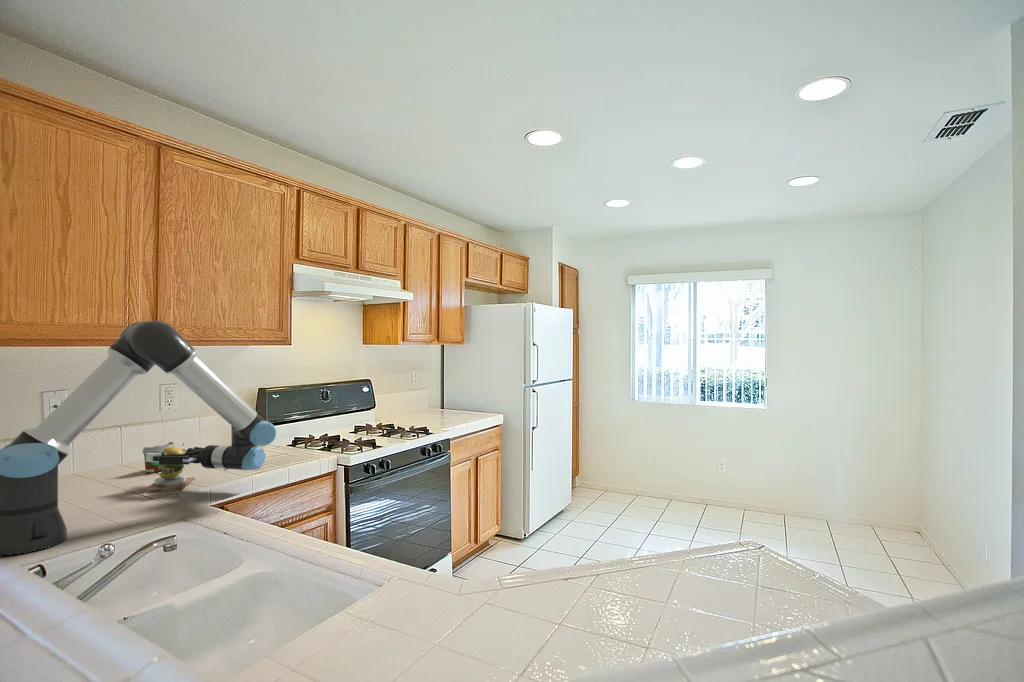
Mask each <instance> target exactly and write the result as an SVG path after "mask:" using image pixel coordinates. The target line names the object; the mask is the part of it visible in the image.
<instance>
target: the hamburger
mask: <svg viewBox="0 0 1024 682" xmlns="http://www.w3.org/2000/svg"><path fill="white" fill-rule="evenodd" d="M183 446H185V442H183V443H182V444H181V446H180V447H178V446H175V447H174V446H169V447H167V448H165V449H164V450H163V452H164V453H165V455H171V454H185V452H184V451H183V450H182V449H181V448H183ZM184 465H185V464H163V465H162V467H163V468H164V470H163V469H162V472H161V473H158V474H159V475H158V476H159V478H164V479H167V478H172V477H175V476H177V475H181V473H182V472H183V469H184V468H185V466H184ZM165 467H166V468H168V469H165Z"/></svg>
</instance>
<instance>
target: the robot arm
mask: <svg viewBox="0 0 1024 682" xmlns="http://www.w3.org/2000/svg"><path fill="white" fill-rule="evenodd" d="M107 352H108V353H107V354H108V356H107V357H106V358H105V360H104V361H102V362H101V363H100V364H99V365H98V366H97V367H96V368H95V369H94V370H93V371H92V372H91V373H90V374H89V375H88V376H87V377H86V378H85V379H84V380H83V381H82V382H81V383H80V384H79V385H77V387H76V388H74V389H73V391H72V392H71V393H70V394H69V395H68V396H67V397H66V398H65V399H64V400H63V401H62V402H60V403H59V404H58V405H57V407H55V408H54V409H53V410H52V411H51V412H50V413H49V415H48V416H46V417H45V418H44V419H43V420H42V421H41V422H40V423H39V424H38V425H37V426H35V427H33V428H32V427H31V428H27V429H23V431H22V432H21V433H20V434H19V435H17V436H16V438H14V439H13V440H12V442H10V443H9V444H6V445H5V446H4V447H2V448H0V555H10V556H13V555H12V554H18V555H21V554H20V553H24V554H28V552H29V553H32V552H31V551H34V550H38V549H41V548H45V547H48V546H51V547H53V546H52V545H54V546H56V545H58V544H57V543H59V542H61V541H62V542H64V541H65V540H66V539H67V537H68V528H67V525H66V522H65V521H64V519H63V516H62V514H61V511H60V509H59V465H60V464H61V463H62V462H63V461H64V460H65V459H66V458H67V456H68V455H69V454H70V452H69V451H70V450H69V446H70V444H71V443H72V442H73V441H74V440H76V439H77V437H78V436H79V435H80V434H81V433H83V432H84V430H85V429H86V428H87V427H88V426H89V425H90V424H91V423H92V422H93V421H94V420H95V419H96V418H97V417H98V416H99V415H100V414H101V413H102V411H104V410H105V408H106V407H107V406H109V404H111V403H112V402H113V400H114V399H115V398H116V397H117V396H118V395H119V394H120V393H121V392H122V391H123V390H124V389H125V388H126V387H127V386H128V385H129V384H130V383H131V382H132V381H133V380H134V378H136V376H138V375H147V374H148V372H150V370H151V369H153V367H154V366H156V367H158V368H159V369H161V370H162V371H163V372H164V373H165V374H169V375H170V374H171V375H173V376H174V377H176V378H177V379H178V380H179V381H180V382H182V383H183V384H184V385H185V386H186V387H187V388H188V389H189V390H191V391H192V392H193V393H194V394H195V395H196V396H197V397H198V398H200V400H202V401H203V402H204V403H205V404H207V405H208V406H209V407H210V408H211V409H212V410H213V411H215V412H216V413H217V414H218V415H219V416H220V418H223V419H224V421H226V422H227V423H228V424H230V427H231V432H230V433H231V445H215V444H210V445H207V446H205V447H199V446H194V447H188V448H186V447H180V448H181V449H182V450H183V451H184V452H185V454H171V455H165V454H164V453H162V454H158V453H146V462H159V464H160V465H161V464H184V465H185V466H188V465H190V464H201V466H202V467H203V468H205V469H213V470H214V469H220V470H221V469H222V470H223V471H225V472H226V471H228V470H240V471H256V470H259V469H261V467H262V466H263V465H264V463H265V460H266V453H265V450H264V449H263V447H265V446H268V445H271V444H272V443H273V442H274V441H275V439H276V437H277V428H276V426H275V425H274V424H273V423H272V422H270V421H269V420H265V419H264V418H263V417H262V416H261V415H260V414H259V413H258V412H257V410H254V409H253V407H251V406H250V405H249V404H248V403H247V402H246V401H245V400H244V399H243V398H242V397H241V396H240V395H239V394H238V393H236V392H235V391H234V390H233V389H232V388H231V387H230V386H229V385H228V384H227V383H226V382H225V381H224V380H223V379H221V378H220V377H219V376H218V375H217V374H216V373H215V372H213V370H212V369H211V368H210V367H209V366H208V365H206V364H205V363H204V361H202V360H201V359H200V358H199V357H198V356H197V354H196V349H195V348H194V347H193V346H192V345H191V344H190V343H189V342H188V341H187V340H186V339H185V338H184V337H183V336H182V335H181V334H180V333H179V332H178V331H177V330H176V329H175V328H174V327H173V326H171V324H168V323H167V322H164V321H160V320H143V321H137V322H136V321H135V322H134V323H132V324H130V325H127V327H126V328H124V330H123V331H122V332H121V334H120V336H119V337H118V339H117V340H115V341H114V343H113V344H111V346H110V347H109V348H107ZM64 539H65V540H64ZM63 540H64V541H63ZM62 542H61V543H62ZM55 544H56V545H55ZM59 544H60V543H59ZM48 548H49V547H48ZM45 549H46V548H45ZM38 551H39V550H38ZM34 552H35V551H34Z"/></svg>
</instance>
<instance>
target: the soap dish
mask: <svg viewBox="0 0 1024 682" xmlns="http://www.w3.org/2000/svg"><path fill="white" fill-rule="evenodd" d="M193 480H196V476H195V477H194V476H192V477H187V476H185V475H182V474H179V475H177V476H175V477H172V478H167V479H164V478H161V477H158V478H156V479H154V482H153V483H152V484H150V485H149V486H148V487H146V488H144V489H143V493H144V492H152V493H163V492H162V491H166V492H165V493H167V491H168V492H181V491H183V490H184V488H185V487H186V486H187V487H188V486H190V485H191V484H192V483H193V482H194V481H193ZM192 481H193V482H192ZM191 482H192V483H191ZM190 483H191V484H190ZM189 484H190V485H189ZM187 487H186V488H187ZM186 488H185V489H186Z"/></svg>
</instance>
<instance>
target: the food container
mask: <svg viewBox="0 0 1024 682" xmlns="http://www.w3.org/2000/svg"><path fill="white" fill-rule="evenodd" d="M169 446H174V447H176V444H175V442H172V441H169V442H168V443H167V444H163V445H156V446H150V447H149V446H148V447H147V446H146V447H145V446H143V449H142V454H143V457H144V468H145V474H146V473H157V474H160V473H159V472H162V469H163V470H164V468H163V467H162V465H163V464H161V465H160V464H159V462H146V453H158V454H162V453H164V452H163V450H164V449H165V448H167V447H169ZM164 454H165V453H164ZM165 469H168V468H166V467H165Z"/></svg>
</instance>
